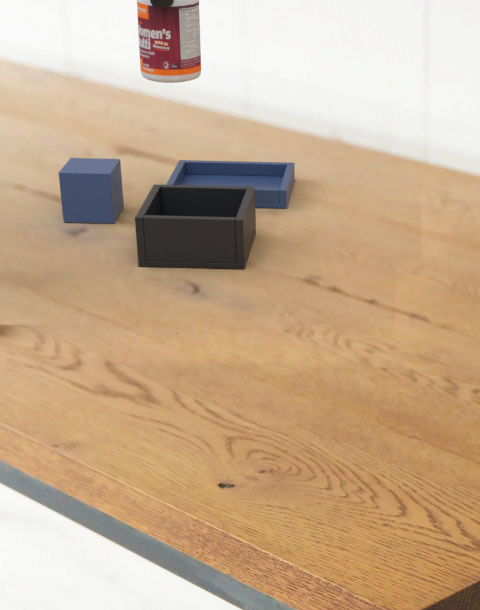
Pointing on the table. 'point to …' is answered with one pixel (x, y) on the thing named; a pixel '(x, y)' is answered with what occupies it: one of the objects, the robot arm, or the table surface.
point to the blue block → (91, 190)
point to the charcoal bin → (196, 226)
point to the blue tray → (240, 178)
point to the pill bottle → (169, 41)
